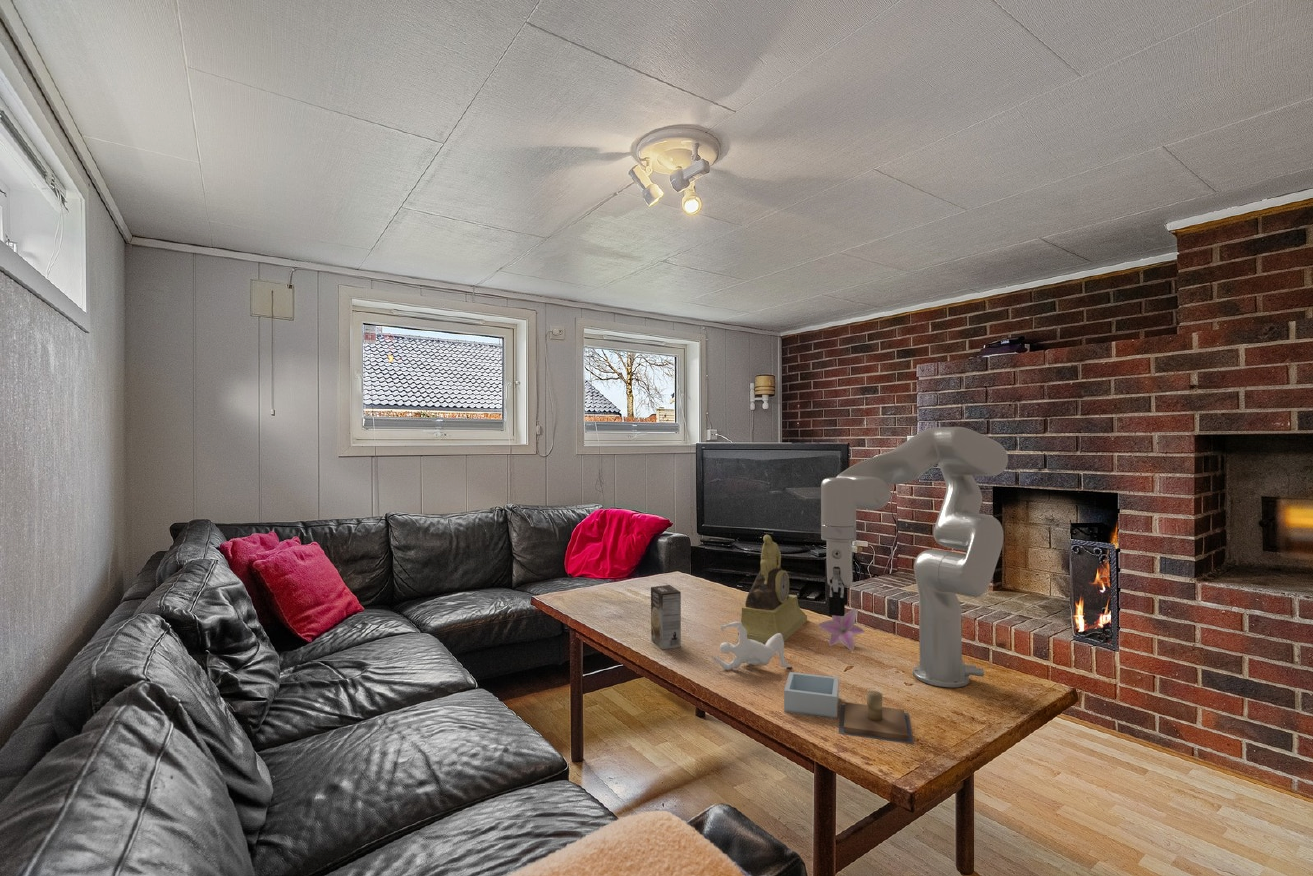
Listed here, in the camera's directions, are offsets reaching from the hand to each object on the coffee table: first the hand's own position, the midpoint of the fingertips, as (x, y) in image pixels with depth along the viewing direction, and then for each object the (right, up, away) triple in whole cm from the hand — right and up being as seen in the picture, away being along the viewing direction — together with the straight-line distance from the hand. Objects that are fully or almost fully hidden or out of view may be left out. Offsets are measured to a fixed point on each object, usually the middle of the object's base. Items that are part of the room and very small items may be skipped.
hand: (838, 609), depth 134 cm
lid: (+5, -21, -9) cm, 23 cm away
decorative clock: (-4, -22, +55) cm, 59 cm away
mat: (+5, -21, -9) cm, 24 cm away
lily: (+13, -22, +40) cm, 48 cm away
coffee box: (-38, -22, +42) cm, 61 cm away
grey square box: (-6, -21, 0) cm, 22 cm away
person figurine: (-16, -22, +22) cm, 35 cm away
